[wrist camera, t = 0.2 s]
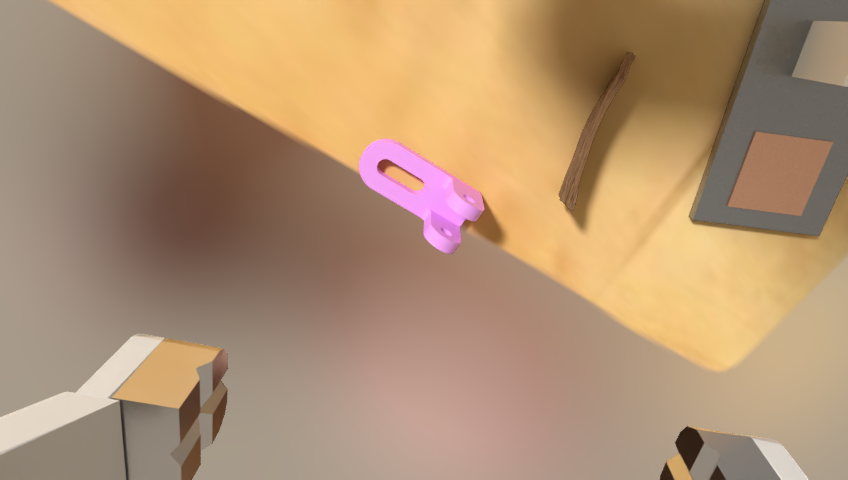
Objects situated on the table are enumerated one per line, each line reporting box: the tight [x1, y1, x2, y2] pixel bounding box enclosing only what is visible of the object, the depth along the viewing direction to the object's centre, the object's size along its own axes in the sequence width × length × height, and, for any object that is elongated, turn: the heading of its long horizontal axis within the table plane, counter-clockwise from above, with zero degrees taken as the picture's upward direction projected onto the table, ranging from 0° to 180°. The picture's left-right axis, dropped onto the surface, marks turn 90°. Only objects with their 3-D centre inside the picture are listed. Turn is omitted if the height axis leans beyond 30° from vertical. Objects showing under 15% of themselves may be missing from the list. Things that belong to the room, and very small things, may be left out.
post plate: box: [689, 0, 848, 236], centre depth 49 cm, size 24×14×10 cm, turn 173°
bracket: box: [359, 139, 485, 254], centre depth 54 cm, size 13×6×7 cm, turn 58°
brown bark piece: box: [559, 52, 635, 211], centre depth 52 cm, size 15×2×5 cm, turn 163°
